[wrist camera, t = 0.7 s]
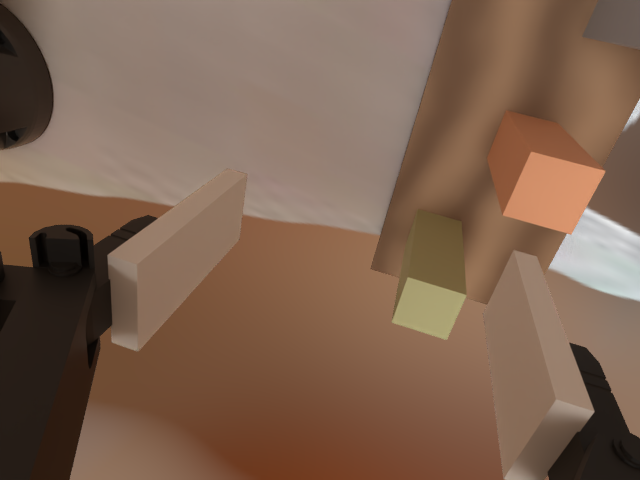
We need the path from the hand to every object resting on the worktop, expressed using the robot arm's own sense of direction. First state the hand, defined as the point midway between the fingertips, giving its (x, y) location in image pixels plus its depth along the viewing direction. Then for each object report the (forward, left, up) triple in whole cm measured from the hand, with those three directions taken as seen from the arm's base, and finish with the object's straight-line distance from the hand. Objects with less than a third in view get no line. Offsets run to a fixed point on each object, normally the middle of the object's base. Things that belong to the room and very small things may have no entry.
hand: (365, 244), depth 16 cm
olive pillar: (+5, -10, -24) cm, 27 cm away
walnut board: (+8, 0, -25) cm, 27 cm away
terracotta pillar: (+9, 0, -24) cm, 26 cm away
